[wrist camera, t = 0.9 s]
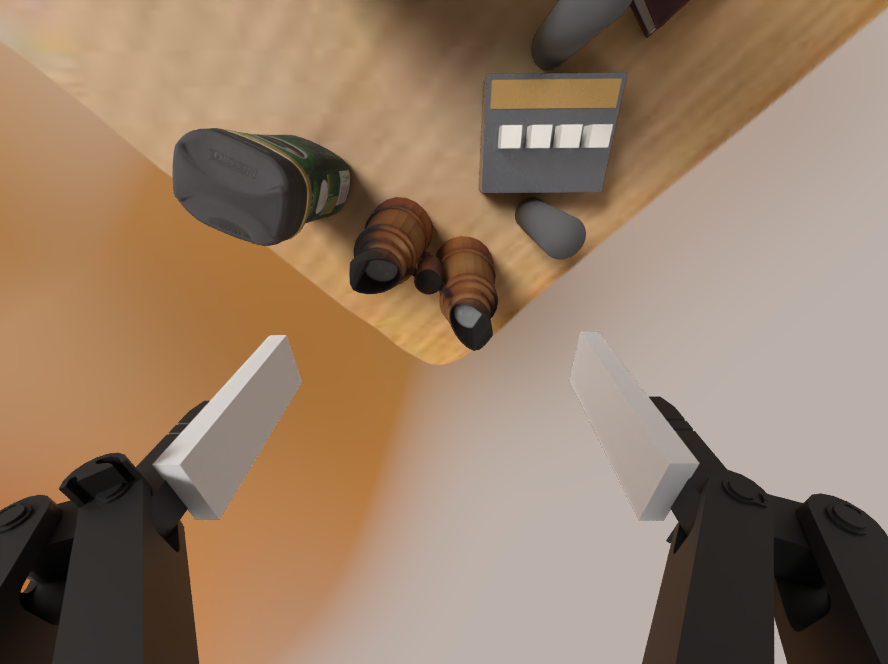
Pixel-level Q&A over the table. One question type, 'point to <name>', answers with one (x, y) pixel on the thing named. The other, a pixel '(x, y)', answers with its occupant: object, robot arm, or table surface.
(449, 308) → the binoculars
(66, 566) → the robot arm
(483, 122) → the breaker box
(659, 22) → the book
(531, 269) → the table surface
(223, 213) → the coffee jar
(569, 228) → the post
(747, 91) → the table surface
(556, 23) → the post
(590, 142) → the row of white cubes
